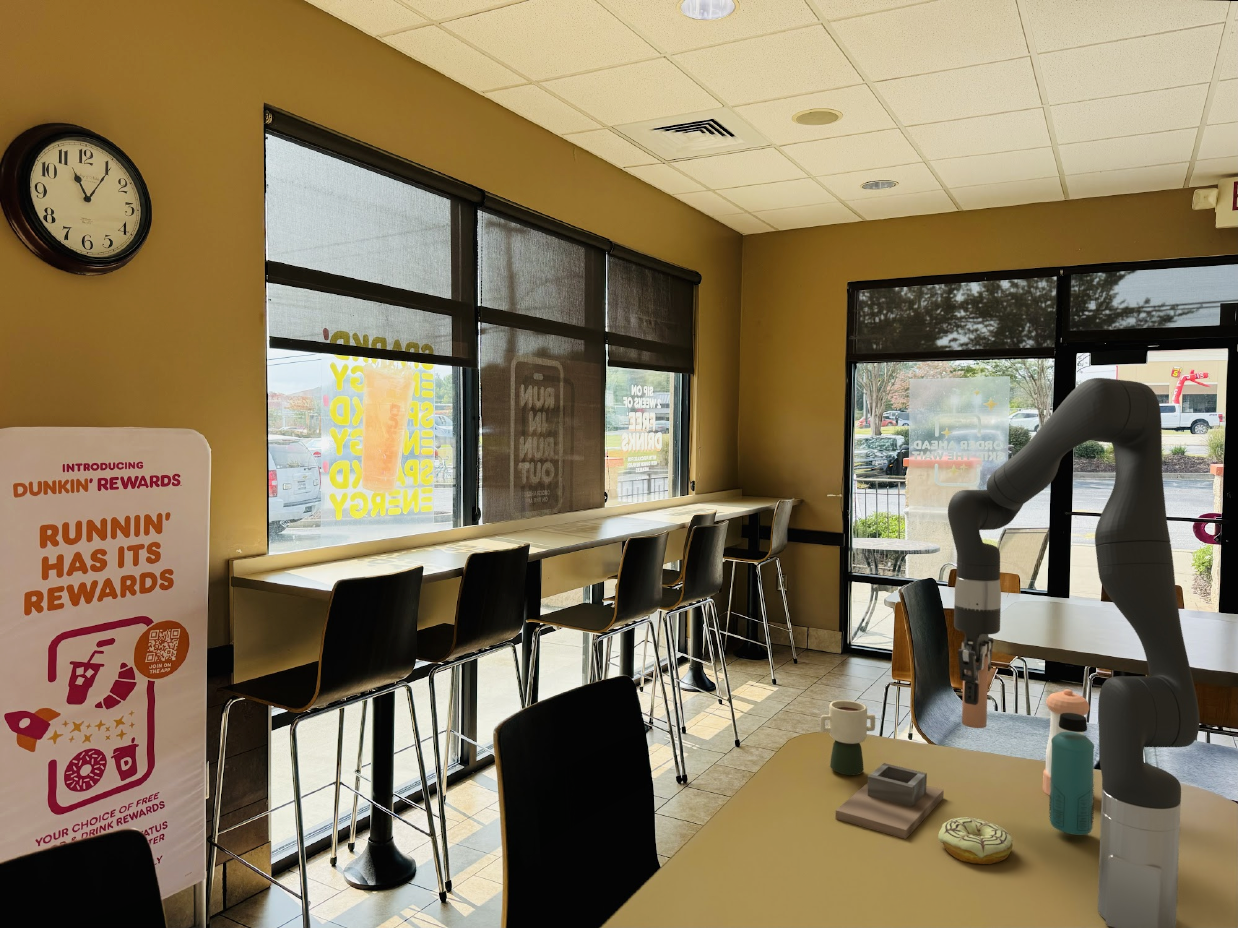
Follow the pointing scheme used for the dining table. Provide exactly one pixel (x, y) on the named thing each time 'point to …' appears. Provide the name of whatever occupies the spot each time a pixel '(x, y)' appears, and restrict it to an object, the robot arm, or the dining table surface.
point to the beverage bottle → (1072, 777)
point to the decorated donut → (975, 840)
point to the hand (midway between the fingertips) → (974, 699)
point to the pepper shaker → (1058, 705)
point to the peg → (978, 713)
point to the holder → (891, 801)
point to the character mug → (847, 734)
